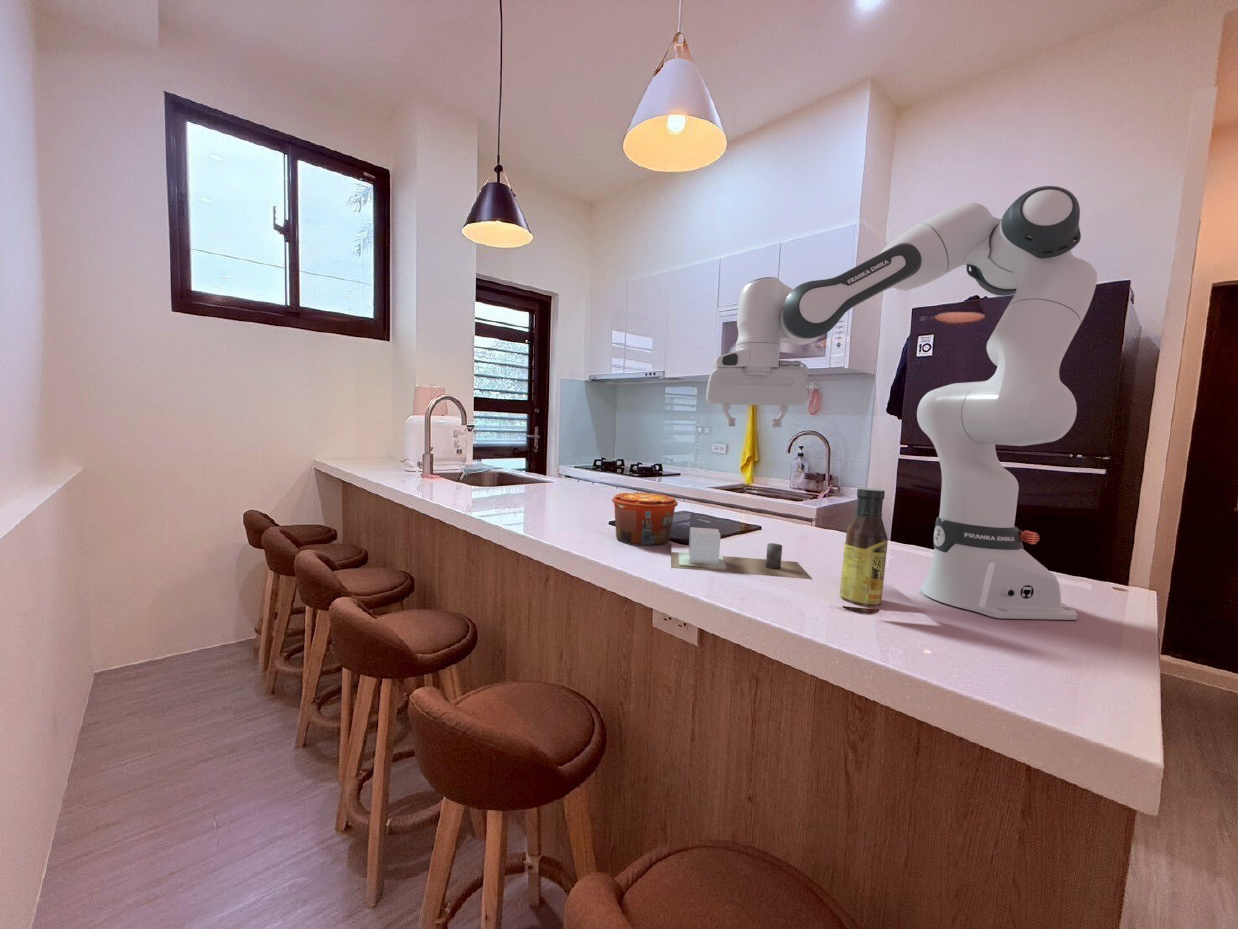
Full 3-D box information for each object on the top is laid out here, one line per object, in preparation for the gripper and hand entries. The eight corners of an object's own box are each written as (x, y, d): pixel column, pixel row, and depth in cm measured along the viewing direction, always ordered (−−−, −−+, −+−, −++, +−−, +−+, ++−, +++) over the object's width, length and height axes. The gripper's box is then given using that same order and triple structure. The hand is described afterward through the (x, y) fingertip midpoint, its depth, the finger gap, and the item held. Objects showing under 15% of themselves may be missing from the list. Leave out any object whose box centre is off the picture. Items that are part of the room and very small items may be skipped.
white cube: (715, 558, 105) (717, 529, 105) (718, 565, 100) (720, 535, 99) (688, 555, 106) (690, 527, 106) (689, 563, 100) (691, 532, 100)
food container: (686, 540, 129) (689, 497, 128) (654, 552, 115) (657, 504, 115) (632, 530, 137) (634, 490, 137) (596, 539, 124) (599, 495, 123)
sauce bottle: (876, 619, 81) (888, 493, 79) (834, 608, 84) (845, 488, 83) (884, 608, 86) (896, 490, 84) (844, 599, 90) (855, 485, 88)
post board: (796, 568, 107) (798, 540, 107) (811, 586, 95) (814, 555, 95) (671, 558, 110) (672, 531, 109) (670, 575, 98) (672, 544, 97)
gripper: (804, 362, 109) (800, 427, 110) (706, 360, 111) (704, 425, 112) (812, 358, 103) (808, 428, 104) (709, 357, 105) (706, 425, 106)
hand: (753, 426), depth 108 cm, fingers open, 8 cm apart
